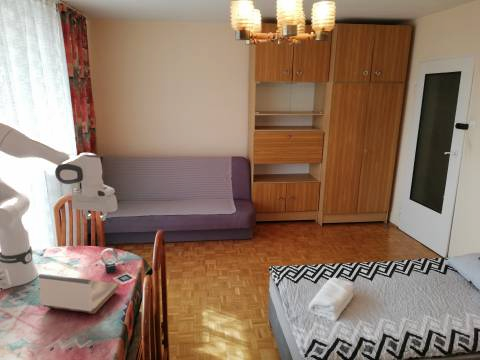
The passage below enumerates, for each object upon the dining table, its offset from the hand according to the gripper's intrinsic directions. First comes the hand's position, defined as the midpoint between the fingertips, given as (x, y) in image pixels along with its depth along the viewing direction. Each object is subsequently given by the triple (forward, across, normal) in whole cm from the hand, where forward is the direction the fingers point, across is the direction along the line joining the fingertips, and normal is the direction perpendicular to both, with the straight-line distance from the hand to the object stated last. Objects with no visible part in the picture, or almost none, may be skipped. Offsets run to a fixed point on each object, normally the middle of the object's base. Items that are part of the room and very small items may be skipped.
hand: (95, 219), depth 151 cm
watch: (+29, 0, +8) cm, 30 cm away
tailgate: (+25, +3, -28) cm, 38 cm away
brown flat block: (+29, +3, -18) cm, 34 cm away
